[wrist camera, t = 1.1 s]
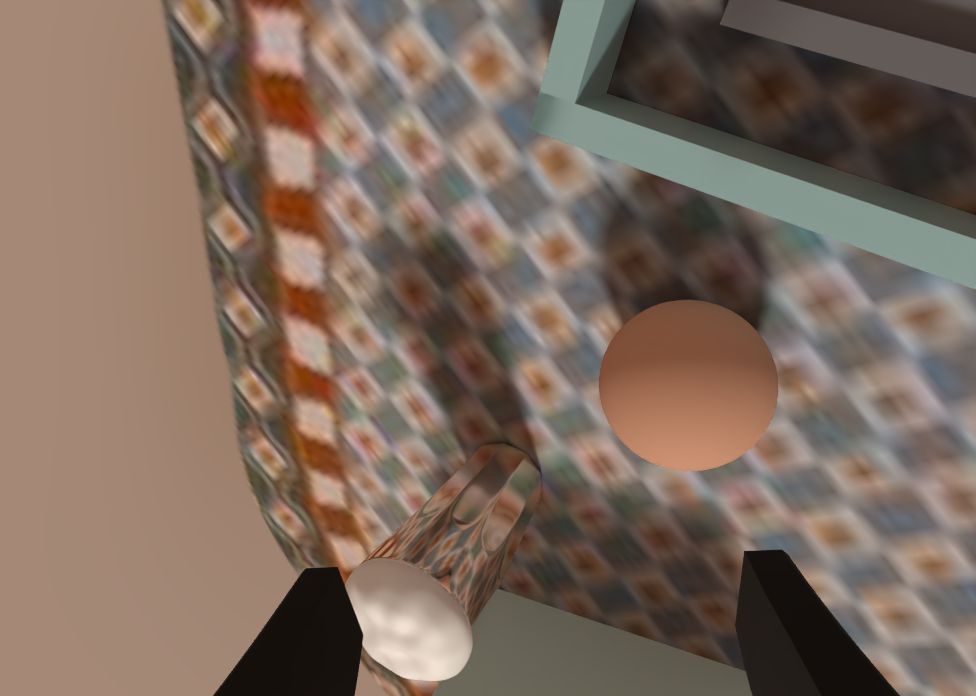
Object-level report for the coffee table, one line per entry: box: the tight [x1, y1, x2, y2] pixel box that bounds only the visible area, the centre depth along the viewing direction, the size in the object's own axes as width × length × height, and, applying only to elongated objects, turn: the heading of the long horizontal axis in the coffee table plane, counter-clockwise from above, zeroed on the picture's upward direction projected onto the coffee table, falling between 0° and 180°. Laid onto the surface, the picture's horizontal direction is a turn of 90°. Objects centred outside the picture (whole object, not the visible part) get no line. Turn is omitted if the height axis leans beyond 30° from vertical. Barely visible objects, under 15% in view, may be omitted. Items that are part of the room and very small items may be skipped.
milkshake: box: [345, 443, 542, 681], centre depth 23 cm, size 4×5×10 cm
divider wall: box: [530, 0, 976, 290], centre depth 15 cm, size 17×5×3 cm, turn 76°
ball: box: [599, 300, 778, 471], centre depth 19 cm, size 5×5×5 cm
